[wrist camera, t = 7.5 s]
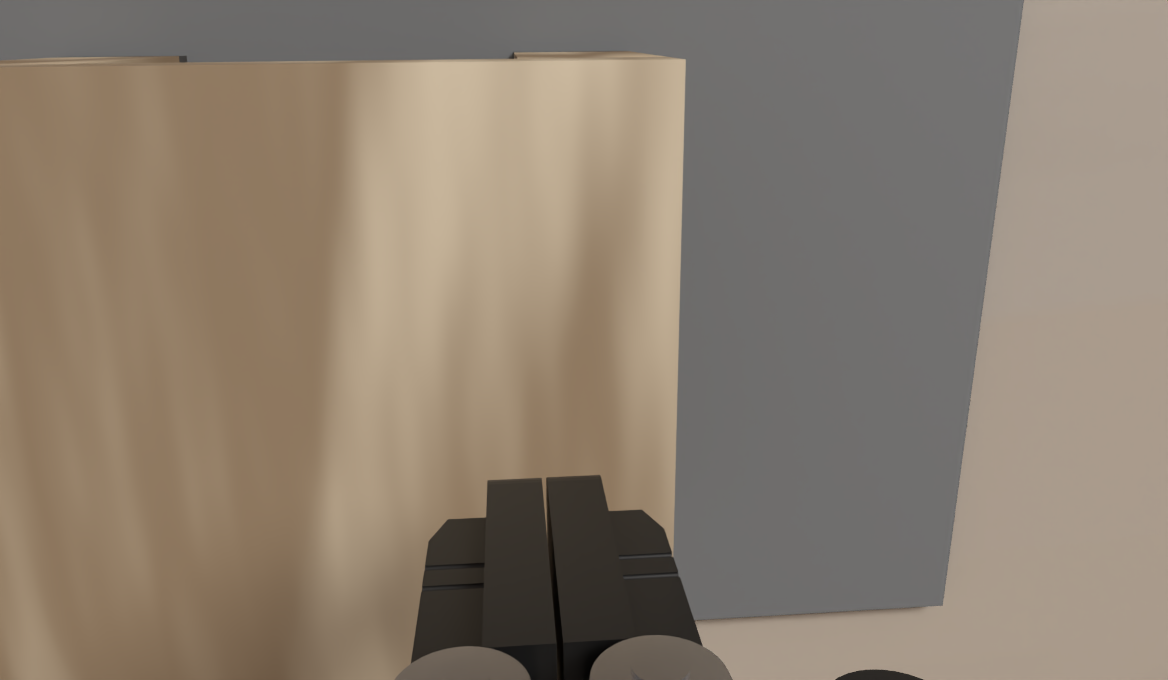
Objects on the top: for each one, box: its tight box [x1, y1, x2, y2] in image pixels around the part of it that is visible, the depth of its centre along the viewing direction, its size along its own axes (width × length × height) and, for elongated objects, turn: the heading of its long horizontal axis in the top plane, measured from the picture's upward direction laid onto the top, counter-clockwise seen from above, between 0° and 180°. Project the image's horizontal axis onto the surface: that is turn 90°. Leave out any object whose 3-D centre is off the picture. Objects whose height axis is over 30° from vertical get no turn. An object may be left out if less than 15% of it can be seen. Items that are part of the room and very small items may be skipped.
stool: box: [0, 51, 686, 680], centre depth 19 cm, size 7×12×12 cm
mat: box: [0, 0, 1024, 620], centre depth 22 cm, size 23×18×1 cm
